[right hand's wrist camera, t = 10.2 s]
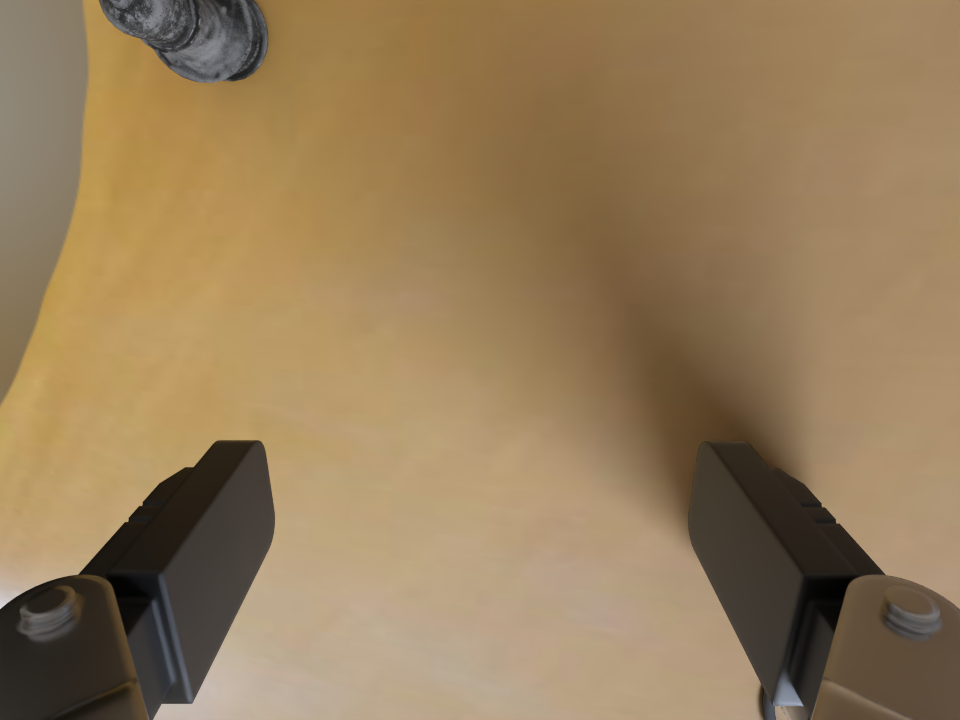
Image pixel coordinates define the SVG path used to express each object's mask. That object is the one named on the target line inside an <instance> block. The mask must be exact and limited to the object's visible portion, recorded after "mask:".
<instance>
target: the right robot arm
mask: <svg viewBox="0 0 960 720" xmlns="http://www.w3.org/2000/svg"><path fill="white" fill-rule="evenodd" d="M688 526H689V534H690V539H691V543H692V546H693V549H694V551H695V553H696V555H697V557H698V559H699V561H700V563H701V565H702V567H703V569H704V571H705V573H706V575H707V577H708V579H709V581H710V583H711V585H712V587H713V589H714V591H715V593H716V595H717V597H718V599H719V601H720V602H721V604H722V606H723V608H724V610H725V612H726V614H727V616H728V618H729V620H730V622H731V624H732V626H733V628H734V630H735V632H736V634H737V636H738V638H739V640H740V642H741V644H742V646H743V648H744V650H745V652H746V654H747V656H748V658H749V660H750V662H751V664H752V666H753V668H754V670H755V672H756V674H757V676H758V678H759V680H760V682H761V684H762V686H763V688H764V696H763V712H764V718H765V720H776V717H775V706H781V708H782V710H783V712H784V714H785V715H786V717H787V719H788V720H960V609H959V608H958V607H956V606H955V605H954V604H953V603H952V602H950V601H949V600H947V599H946V598H944V597H943V596H941V595H939V594H938V593H936V592H934V591H932V590H930V589H928V588H926V587H924V586H922V585H919V584H917V583H914V582H912V581H909V580H905V579H902V578H898V577H893V576H887V575H885V574H884V573H883V571H882V570H881V569H880V568H879V567H878V566H877V565H876V564H875V563H874V561H873V560H872V559H871V558H870V557H869V556H868V555H867V554H866V553H865V551H864V550H863V549H862V548H861V547H860V546H859V545H858V544H857V543H856V541H855V540H854V539H853V538H852V537H851V536H850V535H849V534H848V533H847V531H846V530H845V529H844V528H843V527H842V526H841V525H840V524H836V519H835V518H834V517H833V516H832V515H831V514H830V513H829V511H828V510H827V509H826V508H825V507H822V506H821V502H820V501H819V500H818V499H817V498H816V497H815V496H814V495H813V494H812V492H811V491H810V490H809V489H808V488H807V487H806V486H805V485H804V484H803V483H801V482H799V481H798V480H796V479H794V478H793V477H791V476H790V475H788V474H786V473H785V472H783V471H782V470H780V469H770V468H769V466H768V465H767V464H766V463H765V462H764V460H763V459H762V458H761V457H760V456H759V455H758V453H757V452H756V451H755V450H754V449H753V447H752V446H751V445H750V444H749V443H747V442H744V441H705V442H703V443H702V444H701V445H700V447H699V450H698V454H697V460H696V467H695V474H694V480H693V487H692V494H691V500H690V507H689V515H688ZM274 527H275V512H274V505H273V498H272V491H271V485H270V478H269V471H268V464H267V458H266V452H265V448H264V445H263V444H262V442H261V441H258V440H219V441H216V442H215V443H214V444H213V445H212V446H211V447H210V448H209V450H208V451H207V452H206V453H205V454H204V456H203V457H202V458H201V459H200V460H199V462H198V463H197V464H196V465H195V466H194V467H185V468H184V469H182V470H180V471H179V472H177V473H176V474H174V475H172V476H171V477H169V478H168V479H166V480H164V481H163V482H161V483H159V485H158V486H157V487H156V488H155V489H154V490H153V491H152V492H151V494H150V495H149V496H148V497H147V498H146V499H145V500H144V501H143V505H142V506H139V507H138V508H137V509H136V510H135V512H134V513H133V514H132V515H131V516H130V517H129V521H128V522H125V523H124V524H123V525H122V526H121V527H120V528H119V530H118V531H117V532H116V533H115V534H114V535H113V536H112V537H111V538H110V540H109V541H108V542H107V543H106V544H105V545H104V546H103V547H102V549H101V550H100V551H99V552H98V553H97V554H96V555H95V556H94V558H93V559H92V560H91V561H90V562H89V563H88V564H87V565H86V567H85V568H84V569H83V570H82V571H81V572H80V573H79V574H78V575H73V576H67V577H62V578H58V579H55V580H51V581H48V582H46V583H43V584H41V585H38V586H36V587H34V588H32V589H30V590H28V591H26V592H24V593H22V594H21V595H19V596H17V597H16V598H14V599H13V600H11V601H10V602H8V603H7V604H6V605H5V606H4V607H2V608H1V609H0V720H153V718H154V716H155V715H156V713H157V711H158V709H159V707H160V706H161V704H192V703H193V701H194V699H195V697H196V695H197V693H198V691H199V689H200V687H201V685H202V683H203V681H204V679H205V677H206V675H207V673H208V671H209V669H210V667H211V665H212V663H213V661H214V659H215V657H216V655H217V653H218V651H219V649H220V647H221V645H222V643H223V641H224V639H225V637H226V635H227V633H228V631H229V629H230V627H231V624H232V622H233V620H234V618H235V616H236V614H237V612H238V610H239V608H240V606H241V604H242V602H243V600H244V598H245V596H246V594H247V592H248V590H249V588H250V586H251V584H252V582H253V580H254V578H255V576H256V574H257V572H258V570H259V568H260V566H261V564H262V562H263V560H264V558H265V556H266V554H267V552H268V550H269V548H270V545H271V542H272V539H273V534H274Z"/></svg>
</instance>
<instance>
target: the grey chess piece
mask: <svg viewBox="0 0 960 720" xmlns="http://www.w3.org/2000/svg"><path fill="white" fill-rule="evenodd" d="M99 2H100V5H101V8H102V10H103V12H104V14H105V16H106V17H107V19H108V20H109V21H110V22H111V23H112V24H113V25H114V26H115V27H116V28H118V29H119V30H121V31H122V32H124V33H125V34H128V35H131V36H134V37H138V38H140V39H141V40H142V41H143V42H144V43H145V44H147V45H148V46H150V47H151V48H153V49H154V51H155V52H156V54H157V55H158V57H159V58H160V59H161V60H162V61H163V62H164V63H165V64H166V65H167V66H168V67H169V68H170V69H171V70H172V71H174V72H176V73H177V74H179V75H180V76H182V77H183V78H186V79H189V80H192V81H195V82H203V83H214V82H218V81H237V80H241V79H245V78H246V77H248V76H250V75H251V74H253V73H254V72H255V71H256V70H257V69H258V68H259V66H260V65H261V64H262V61H263V59H264V57H265V55H266V51H267V46H268V32H267V26H266V23H265V19H264V16H263V14H262V13H261V11H260V9H259V7H258V5H257V4H256V3H255V2H254V0H99Z"/></svg>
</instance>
